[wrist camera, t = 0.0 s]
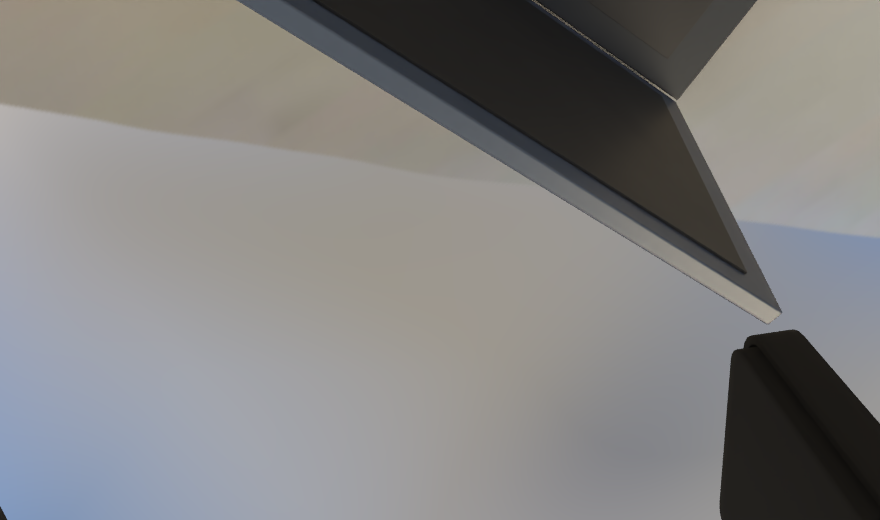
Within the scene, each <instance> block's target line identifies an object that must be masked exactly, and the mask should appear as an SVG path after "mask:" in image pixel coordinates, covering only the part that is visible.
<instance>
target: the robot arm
mask: <svg viewBox="0 0 880 520" xmlns="http://www.w3.org/2000/svg"><path fill="white" fill-rule="evenodd" d="M722 467H723V468H722V480H721V492H720V514H721V519H722V520H880V424H879V422H878V421H877V420H876V419H875V418H874V417H873V415H872V414H871V413H870V412H869V411H868V410H867V408H866V407H865V406H864V405H863V404H862V403H861V401H860V400H859V399H858V398H857V397H856V396H855V395H854V394H853V392H852V391H851V390H850V389H849V388H848V387H847V385H846V384H845V383H844V382H843V381H842V379H841V378H840V377H839V376H838V375H837V374H836V373H835V371H834V370H833V369H832V368H831V367H830V366H829V365H828V363H827V362H826V361H825V360H824V359H823V357H822V356H821V355H820V354H819V353H818V352H817V351H816V349H815V348H814V347H813V346H812V345H811V344H810V342H809V341H808V340H807V339H806V338H805V337H804V336H803V335H802V334H801V333H800V332H799V331H797V330H786V331H779V332H772V333H766V334H760V335H752V336H749V337H747V339H746V341H745V343H744V348H743V349H737V350H735V351H734V352H733V354H732V357H731V365H730V378H729V391H728V403H727V416H726V428H725V442H724V455H723V466H722ZM0 520H7V519H6V516H5V515H4V513H3V511H2V509H1V507H0Z"/></svg>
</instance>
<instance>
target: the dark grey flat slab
mask: <svg viewBox="0 0 880 520" xmlns="http://www.w3.org/2000/svg"><path fill="white" fill-rule="evenodd" d="M536 1H538V2H539V3H541V4H542V5H543V6H545V7H546V8H548V9H549V10H550V11H552V12H553V13H555V14H556V15H558V16H559V17H560V18H562V19H563V20H565V21H566V22H567V23H569V24H570V25H572V26H573V27H575V28H576V29H577V30H579V31H580V32H582V33H583V34H584V35H586V36H587V37H589V38H590V39H592V40H593V41H594V42H596V43H597V44H599V45H600V46H601V47H603V48H604V49H606V50H607V51H609V52H610V53H611V54H613V55H614V56H616V57H617V58H618V59H620V60H621V61H623V62H624V63H625V64H627V65H628V66H630V67H631V68H633V69H634V70H635V71H637V72H638V73H640V74H641V75H642V76H644V77H645V78H647V79H648V80H650V81H651V82H652V83H654V84H655V85H657V86H658V87H659V88H661V89H662V90H664V91H665V92H667V93H668V94H669V95H671V96H672V97H674V98H675V99H676V100H678V99H679V98H680V96H681V95H682V94H683V93H684V91H685V90H686V89H687V88H688V86H689V85H690V84H691V83H692V81H693V80H694V79H695V78H696V76H697V75H698V74H699V72H700V71H701V70H702V69H703V67H704V66H705V65H706V64H707V62H708V61H709V60H710V59H711V57H712V56H713V55H714V54H715V52H716V51H717V50H718V49H719V47H720V46H721V45H722V44H723V42H724V41H725V40H726V39H727V37H728V36H729V35H730V34H731V32H732V31H733V30H734V29H735V27H736V26H737V25H738V24H739V22H740V21H741V20H742V19H743V17H744V16H745V15H746V14H747V12H748V11H749V10H750V9H751V7H752V6H753V5H754V4H755V2H756V1H757V0H536Z"/></svg>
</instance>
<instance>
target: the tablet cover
mask: <svg viewBox="0 0 880 520" xmlns="http://www.w3.org/2000/svg"><path fill="white" fill-rule="evenodd" d="M237 1H239V2H240V3H242V4H244V5H245V6H247V7H249V8H250V9H252V10H254V11H255V12H257V13H258V14H260V15H262V16H263V17H265V18H267V19H268V20H270V21H271V22H273V23H275V24H276V25H278V26H280V27H281V28H283V29H285V30H286V31H288V32H289V33H291V34H293V35H294V36H296V37H298V38H299V39H301V40H303V41H304V42H306V43H307V44H309V45H311V46H312V47H314V48H316V49H317V50H319V51H321V52H322V53H324V54H325V55H327V56H329V57H330V58H332V59H334V60H335V61H337V62H339V63H340V64H342V65H343V66H345V67H347V68H348V69H350V70H352V71H353V72H355V73H357V74H358V75H360V76H361V77H363V78H365V79H366V80H368V81H370V82H371V83H373V84H375V85H376V86H378V87H379V88H381V89H383V90H384V91H386V92H388V93H389V94H391V95H393V96H394V97H396V98H397V99H399V100H401V101H402V102H404V103H406V104H407V105H409V106H410V107H412V108H414V109H415V110H417V111H419V112H420V113H422V114H424V115H425V116H427V117H428V118H430V119H432V120H433V121H435V122H437V123H438V124H440V125H442V126H443V127H445V128H446V129H448V130H450V131H451V132H453V133H455V134H456V135H458V136H460V137H461V138H463V139H464V140H466V141H468V142H469V143H471V144H473V145H474V146H476V147H478V148H479V149H481V150H482V151H484V152H486V153H487V154H489V155H491V156H492V157H494V158H496V159H497V160H499V161H500V162H502V163H504V164H505V165H507V166H509V167H510V168H512V169H514V170H515V171H517V172H518V173H520V174H522V175H523V176H525V177H527V178H528V179H530V180H532V181H533V182H535V183H536V184H538V185H540V186H541V187H543V188H545V189H546V190H548V191H550V192H551V193H553V194H554V195H556V196H558V197H559V198H561V199H563V200H564V201H566V202H567V203H569V204H571V205H573V206H574V207H576V208H577V209H579V210H581V211H582V212H584V213H586V214H587V215H589V216H590V217H592V218H594V219H595V220H597V221H599V222H600V223H602V224H604V225H605V226H607V227H608V228H610V229H612V230H613V231H615V232H617V233H618V234H620V235H621V236H623V237H625V238H626V239H628V240H630V241H631V242H633V243H635V244H636V245H638V246H639V247H641V248H643V249H644V250H646V251H648V252H649V253H651V254H653V255H654V256H656V257H657V258H659V259H661V260H662V261H664V262H666V263H667V264H669V265H671V266H672V267H674V268H675V269H677V270H679V271H681V272H682V273H684V274H685V275H687V276H689V277H690V278H692V279H693V280H695V281H697V282H698V283H700V284H702V285H703V286H705V287H706V288H708V289H710V290H712V291H713V292H715V293H716V294H718V295H720V296H721V297H723V298H725V299H726V300H728V301H729V302H731V303H733V304H734V305H736V306H738V307H739V308H741V309H742V310H744V311H746V312H747V313H749V314H751V315H752V316H754V317H756V318H757V319H759V320H760V321H762V322H764V323H766V324H770V323H771V322H772V321H773V320H774V319H776V318H777V317H778V316H779V315H780V314H781V313H782V311H781V309H780V307H779V305H778V303H777V301H776V299H775V297H774V295H773V293H772V291H771V289H770V287H769V285H768V283H767V281H766V279H765V277H764V275H763V273H762V271H761V269H760V268H759V265H758V264H757V262H756V260H755V258H754V256H753V254H752V252H751V250H750V248H749V246H748V244H747V242H746V240H745V238H744V236H743V234H742V232H741V230H740V228H739V226H738V224H737V222H736V220H735V218H734V216H733V214H732V212H731V210H730V208H729V206H728V204H727V202H726V200H725V198H724V196H723V195H722V193H721V191H720V189H719V187H718V185H717V183H716V181H715V179H714V177H713V175H712V173H711V171H710V169H709V167H708V165H707V163H706V161H705V159H704V157H703V155H702V153H701V151H700V149H699V147H698V145H697V143H696V141H695V139H694V137H693V135H692V133H691V131H690V129H689V127H688V126H687V124H686V122H685V120H684V118H683V116H682V114H681V112H680V110H679V108H678V106H677V104H676V102H675V101H674V100H672V99H671V98H669V97H668V96H666V95H665V94H664V93H662V92H661V91H659V90H658V89H657V88H655V87H654V86H652V85H651V84H649V83H648V82H647V81H645V80H644V79H642V78H641V77H639V76H638V75H637V74H635V73H634V72H632V71H631V70H630V69H628V68H627V67H625V66H624V65H622V64H621V63H620V62H618V61H617V60H615V59H614V58H613V57H611V56H610V55H608V54H607V53H605V52H604V51H603V50H601V49H600V48H598V47H597V46H596V45H594V44H593V43H591V42H590V41H588V40H587V39H586V38H584V37H583V36H581V35H580V34H579V33H577V32H576V31H574V30H573V29H571V28H570V27H569V26H567V25H566V24H564V23H563V22H561V21H560V20H559V19H557V18H556V17H554V16H553V15H552V14H550V13H549V12H547V11H546V10H544V9H543V8H542V7H540V6H539V5H537V4H536V3H535V2H533V1H532V0H237Z"/></svg>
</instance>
